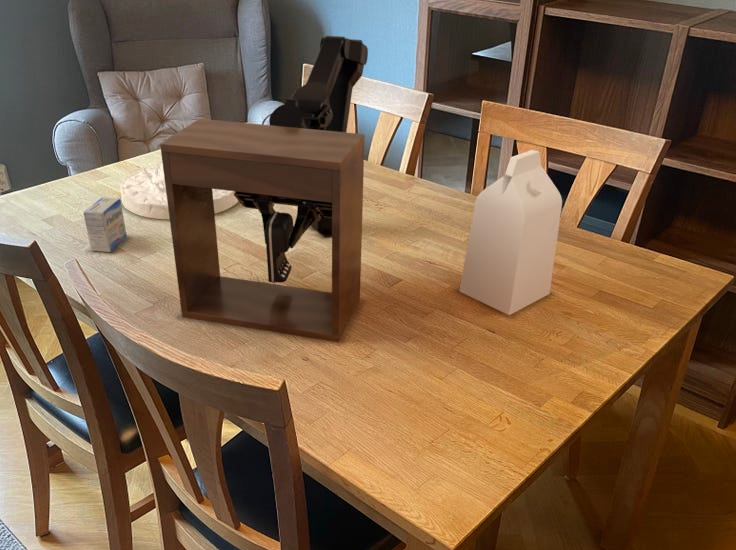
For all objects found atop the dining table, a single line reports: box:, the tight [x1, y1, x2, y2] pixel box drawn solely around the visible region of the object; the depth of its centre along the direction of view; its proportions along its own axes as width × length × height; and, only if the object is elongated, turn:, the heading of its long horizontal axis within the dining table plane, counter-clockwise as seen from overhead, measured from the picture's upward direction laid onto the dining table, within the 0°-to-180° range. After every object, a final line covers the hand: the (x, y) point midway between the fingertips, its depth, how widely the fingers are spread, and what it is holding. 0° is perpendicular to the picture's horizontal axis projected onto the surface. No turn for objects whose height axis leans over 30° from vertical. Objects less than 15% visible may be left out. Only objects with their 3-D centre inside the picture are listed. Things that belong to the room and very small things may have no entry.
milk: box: [458, 149, 563, 316], centre depth 129 cm, size 12×12×26 cm
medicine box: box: [83, 197, 128, 253], centre depth 150 cm, size 8×4×9 cm, turn 168°
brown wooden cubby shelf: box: [159, 118, 365, 343], centre depth 122 cm, size 14×28×30 cm, turn 74°
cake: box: [119, 161, 239, 221], centre depth 172 cm, size 28×28×10 cm
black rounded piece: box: [265, 211, 294, 284], centre depth 130 cm, size 7×4×11 cm, turn 171°
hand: (278, 245), depth 128 cm, fingers closed on black rounded piece, 4 cm apart
